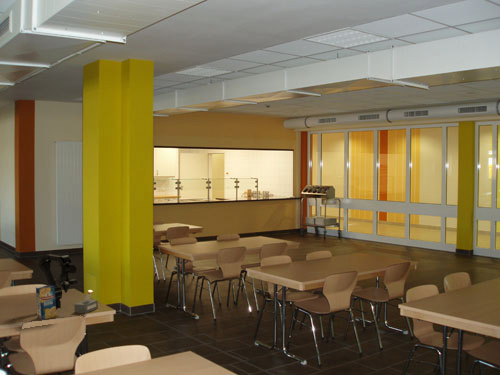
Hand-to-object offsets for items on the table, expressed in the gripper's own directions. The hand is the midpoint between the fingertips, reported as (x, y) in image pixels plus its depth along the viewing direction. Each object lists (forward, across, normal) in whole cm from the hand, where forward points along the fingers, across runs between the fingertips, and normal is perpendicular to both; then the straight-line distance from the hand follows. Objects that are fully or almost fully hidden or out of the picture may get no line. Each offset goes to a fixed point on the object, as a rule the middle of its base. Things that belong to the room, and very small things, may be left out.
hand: (65, 292), depth 398 cm
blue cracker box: (+13, -1, -20) cm, 24 cm away
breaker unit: (+13, +16, +3) cm, 21 cm away
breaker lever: (+6, +17, +3) cm, 18 cm away
